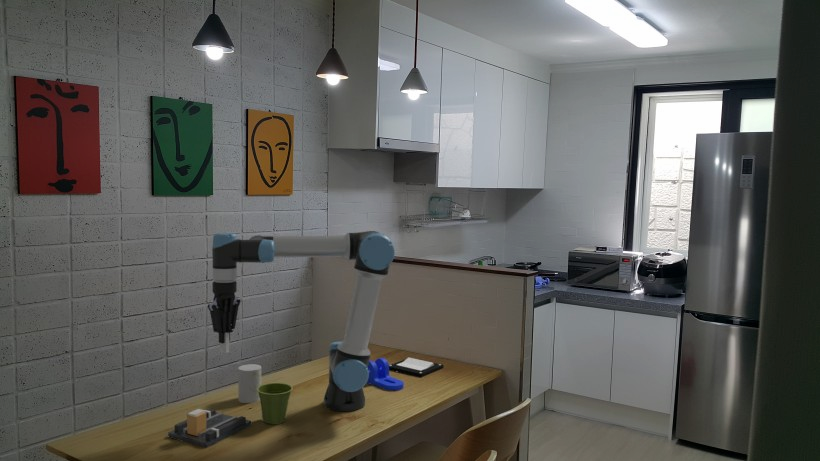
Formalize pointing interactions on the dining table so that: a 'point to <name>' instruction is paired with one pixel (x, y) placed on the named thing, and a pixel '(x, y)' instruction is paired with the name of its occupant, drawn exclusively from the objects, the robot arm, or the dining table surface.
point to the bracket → (383, 375)
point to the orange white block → (196, 422)
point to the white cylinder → (249, 383)
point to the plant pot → (274, 401)
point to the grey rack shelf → (215, 431)
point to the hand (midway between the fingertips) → (224, 352)
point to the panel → (210, 423)
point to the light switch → (415, 367)
